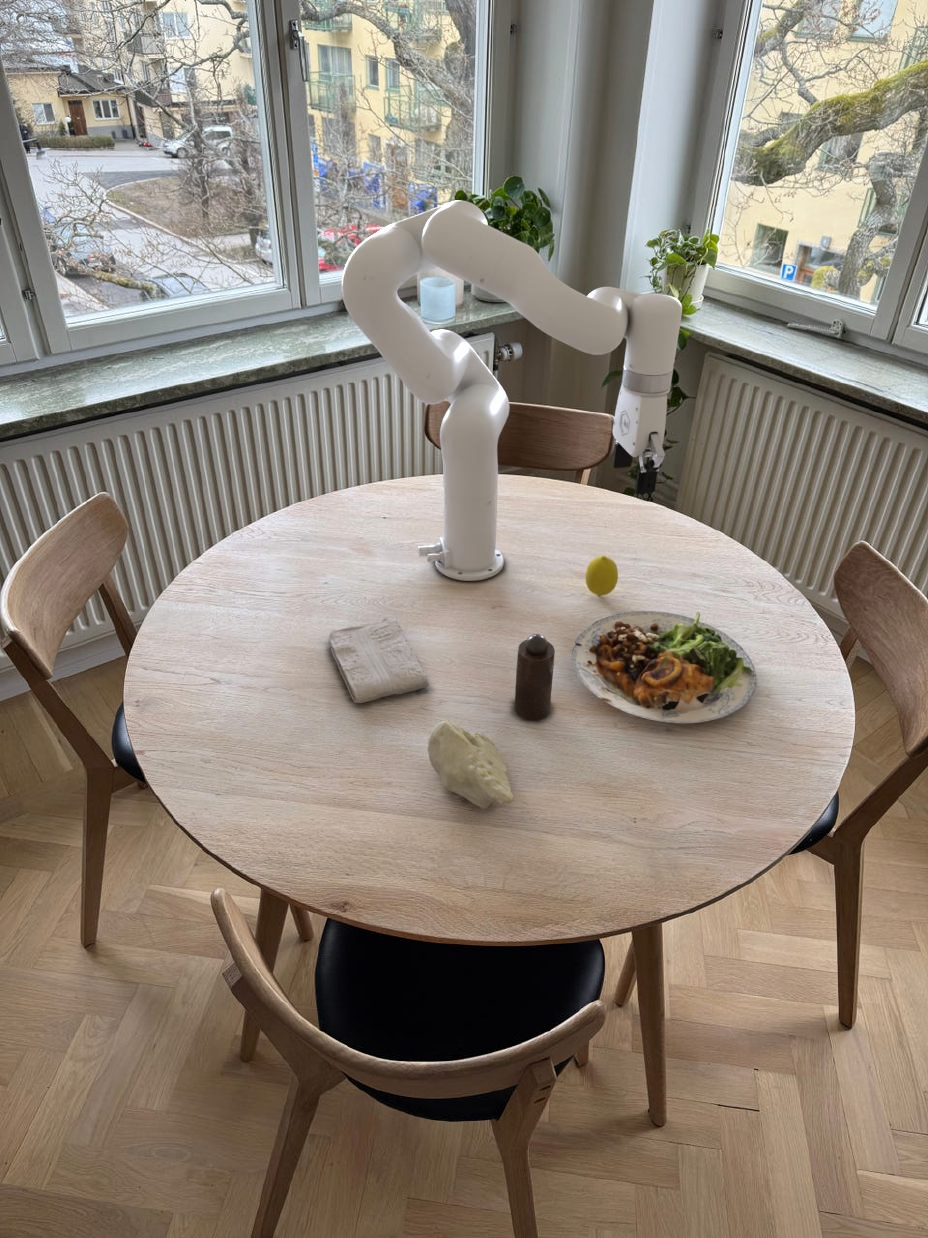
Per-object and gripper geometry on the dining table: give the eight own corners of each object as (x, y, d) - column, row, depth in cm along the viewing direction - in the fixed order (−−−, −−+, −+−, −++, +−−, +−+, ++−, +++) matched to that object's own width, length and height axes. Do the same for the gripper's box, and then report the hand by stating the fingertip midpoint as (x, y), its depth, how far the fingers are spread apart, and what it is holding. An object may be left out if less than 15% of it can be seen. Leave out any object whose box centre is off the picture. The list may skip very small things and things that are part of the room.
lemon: (614, 588, 160) (619, 549, 155) (615, 605, 155) (621, 565, 151) (583, 586, 160) (587, 547, 156) (583, 603, 156) (587, 563, 151)
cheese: (433, 754, 127) (389, 756, 113) (465, 714, 126) (424, 711, 112) (512, 829, 122) (475, 841, 108) (546, 789, 121) (514, 795, 107)
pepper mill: (519, 723, 130) (524, 649, 122) (510, 700, 134) (514, 628, 127) (554, 718, 131) (560, 645, 123) (544, 695, 135) (549, 623, 128)
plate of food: (760, 642, 147) (768, 611, 143) (746, 753, 125) (755, 720, 122) (592, 609, 154) (595, 579, 151) (551, 708, 133) (554, 676, 129)
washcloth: (394, 626, 149) (393, 611, 148) (431, 690, 136) (431, 674, 134) (324, 641, 146) (322, 626, 144) (355, 709, 132) (354, 693, 130)
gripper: (604, 362, 146) (593, 459, 155) (646, 401, 132) (631, 505, 142) (647, 359, 147) (633, 455, 157) (693, 397, 134) (675, 500, 143)
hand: (633, 479), depth 149 cm, fingers open, 9 cm apart
